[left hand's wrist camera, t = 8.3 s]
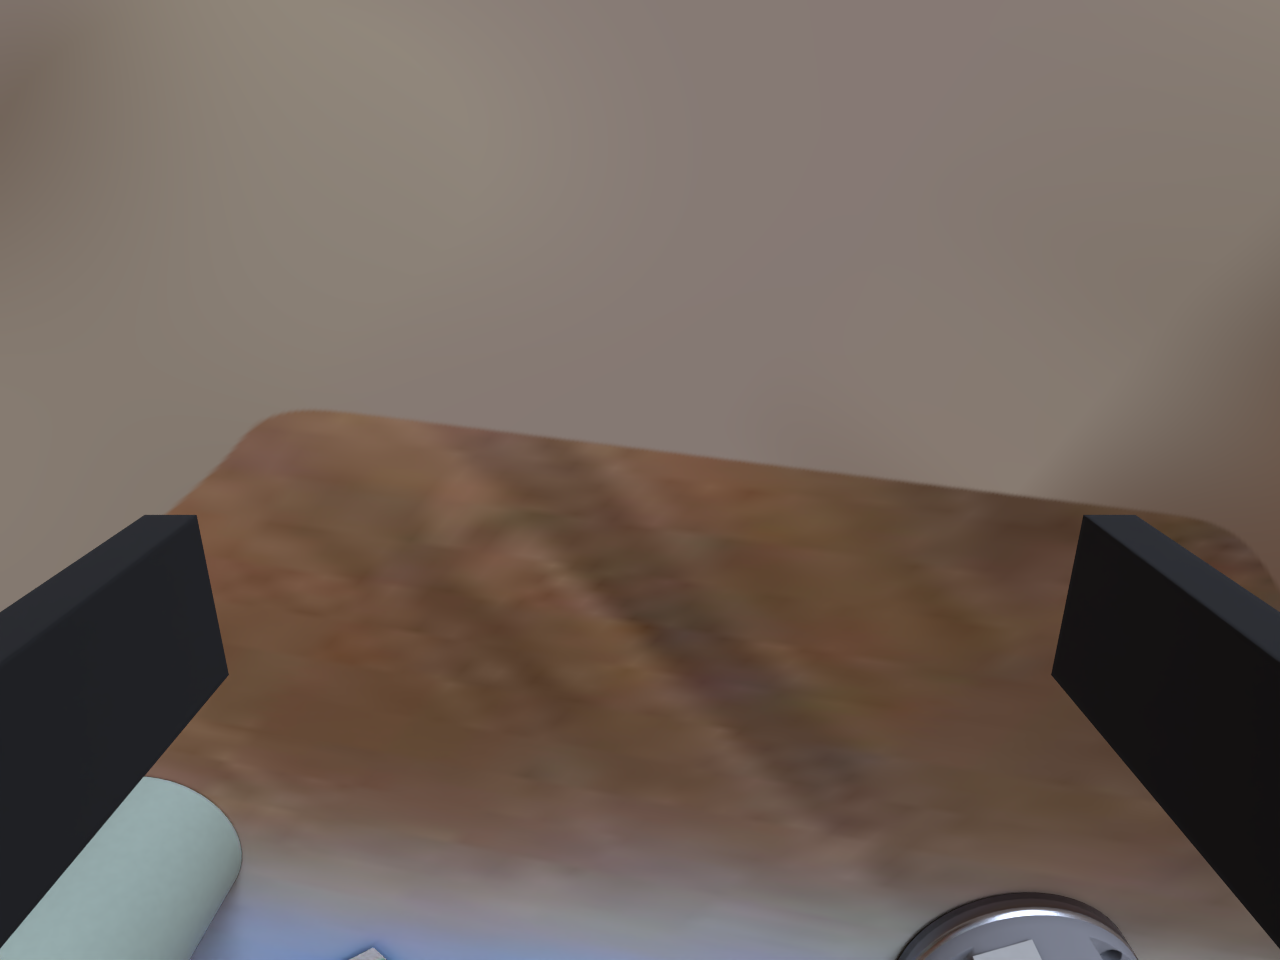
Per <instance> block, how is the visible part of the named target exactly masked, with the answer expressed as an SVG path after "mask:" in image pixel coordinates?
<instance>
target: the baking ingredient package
mask: <svg viewBox="0 0 1280 960" xmlns="http://www.w3.org/2000/svg"><path fill="white" fill-rule="evenodd" d="M349 960H386V959H385V958H384V957H383V956H382V955H381V954H380V953H379V952H378V951H377V950H376V949H374V948H371V949H369V950H367V951H365V952H363V953H361V954H359V955H357V956H355V957H353V958H351V959H349Z"/></svg>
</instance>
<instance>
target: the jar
mask: <svg viewBox="0 0 1280 960" xmlns="http://www.w3.org/2000/svg"><path fill="white" fill-rule="evenodd" d="M241 861H242V851H241V845H240V841H239V838H238V835H237V833H236V831H235V829H234V827H233V825H232V824H231V822H230V821H229V819H228V818H227V817H226V816H225V815H224V813H223V812H222V811H221V810H220V809H219V808H218V807H217V806H216V805H214V804H213V803H212V802H211V801H209V800H208V799H207V798H205V797H204V796H202V795H201V794H199V793H197V792H196V791H194V790H192V789H190V788H187V787H185V786H183V785H180V784H178V783H175V782H172V781H168V780H164V779H159V778H152V777H143V778H142V779H141V781H140V782H139V783H138V784H137V785H136V787H135V788H134V789H133V790H132V791H131V793H130V794H129V795H128V796H127V797H126V799H125V800H124V801H123V802H122V803H121V805H120V806H119V807H118V808H117V809H116V811H115V812H114V813H113V814H112V815H111V817H110V818H109V819H108V820H107V821H106V823H105V824H104V825H103V826H102V827H101V829H100V830H99V831H98V832H97V833H96V835H95V836H94V837H93V838H92V839H91V841H90V842H89V843H88V844H87V845H86V847H85V848H84V849H83V850H82V851H81V853H80V854H79V855H78V856H77V857H76V858H75V860H74V861H73V862H72V863H71V864H70V866H69V867H68V868H67V869H66V870H65V872H64V873H63V874H62V875H61V876H60V878H59V879H58V880H57V881H56V882H55V884H54V885H53V886H52V887H51V888H50V890H49V891H48V892H47V893H46V894H45V896H44V897H43V898H42V899H41V900H40V902H39V903H38V904H37V905H36V906H35V908H34V909H33V910H32V911H31V912H30V914H29V915H28V916H27V917H26V918H25V920H24V921H23V922H22V923H21V924H20V926H19V927H18V928H17V929H16V930H15V932H14V933H13V934H12V935H11V936H10V938H9V939H8V940H7V941H6V942H5V944H4V945H3V946H2V947H1V948H0V960H190V958H191V956H192V955H193V953H194V951H195V950H196V948H197V946H198V944H199V943H200V941H201V939H202V937H203V936H204V934H205V932H206V930H207V929H208V927H209V925H210V923H211V922H212V920H213V918H214V916H215V915H216V913H217V911H218V909H219V908H220V906H221V904H222V902H223V901H224V899H225V897H226V896H227V894H228V892H229V890H230V889H231V887H232V885H233V883H234V882H235V880H236V878H237V876H238V873H239V871H240V867H241Z"/></svg>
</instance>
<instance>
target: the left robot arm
mask: <svg viewBox="0 0 1280 960" xmlns="http://www.w3.org/2000/svg"><path fill="white" fill-rule="evenodd" d="M228 675H229V674H228V669H227V664H226V659H225V654H224V649H223V644H222V639H221V634H220V629H219V624H218V619H217V614H216V610H215V605H214V600H213V595H212V590H211V585H210V580H209V575H208V570H207V565H206V560H205V555H204V550H203V545H202V540H201V535H200V530H199V525H198V520H197V515H144V516H143V517H141V518H140V519H138V520H137V521H135V522H134V523H132V524H131V525H129V526H128V527H126V528H125V529H123V530H122V531H120V532H119V533H117V534H116V535H114V536H113V537H111V538H110V539H108V540H107V541H106V542H104V543H102V544H101V545H99V546H98V547H97V548H95V549H94V550H92V551H91V552H89V553H88V554H86V555H85V556H83V557H82V558H80V559H79V560H77V561H76V562H74V563H73V564H71V565H70V566H68V567H67V568H65V569H64V570H62V571H61V572H59V573H58V574H56V575H55V576H53V577H52V578H50V579H49V580H47V581H46V582H45V583H43V584H42V585H40V586H39V587H37V588H36V589H34V590H33V591H31V592H30V593H28V594H27V595H25V596H24V597H22V598H21V599H19V600H18V601H16V602H15V603H13V604H12V605H10V606H9V607H7V608H6V609H4V610H3V611H1V612H0V948H1V947H2V946H3V945H4V944H5V942H6V941H7V940H8V939H9V938H10V936H11V935H12V934H13V933H14V932H15V930H16V929H17V928H18V927H19V926H20V924H21V923H22V922H23V921H24V920H25V918H26V917H27V916H28V915H29V914H30V912H31V911H32V910H33V909H34V908H35V906H36V905H37V904H38V903H39V902H40V900H41V899H42V898H43V897H44V896H45V894H46V893H47V892H48V891H49V890H50V888H51V887H52V886H53V885H54V884H55V882H56V881H57V880H58V879H59V878H60V876H61V875H62V874H63V873H64V872H65V870H66V869H67V868H68V867H69V866H70V864H71V863H72V862H73V861H74V860H75V858H76V857H77V856H78V855H79V854H80V853H81V851H82V850H83V849H84V848H85V847H86V845H87V844H88V843H89V842H90V841H91V839H92V838H93V837H94V836H95V835H96V833H97V832H98V831H99V830H100V829H101V827H102V826H103V825H104V824H105V823H106V821H107V820H108V819H109V818H110V817H111V815H112V814H113V813H114V812H115V811H116V809H117V808H118V807H119V806H120V805H121V803H122V802H123V801H124V800H125V799H126V797H127V796H128V795H129V794H130V793H131V791H132V790H133V789H134V788H135V787H136V785H137V784H138V783H139V782H140V781H141V779H142V778H143V777H144V776H145V775H146V773H147V772H148V771H149V770H150V769H151V767H152V766H153V765H154V764H155V763H156V761H157V760H158V759H159V758H160V757H161V755H162V754H163V753H164V752H165V751H166V749H167V748H168V747H169V746H170V745H171V743H172V742H173V741H174V740H175V739H176V737H177V736H178V735H179V734H180V733H181V731H182V730H183V729H184V728H185V727H186V725H187V724H188V723H189V722H190V721H191V719H192V718H193V717H194V716H195V715H196V713H197V712H198V711H199V710H200V709H201V707H202V706H203V705H204V704H205V703H206V701H207V700H208V699H209V698H210V697H211V695H212V694H213V693H214V692H215V691H216V689H217V688H218V687H219V686H220V685H221V683H222V682H223V681H224V680H225V679H226V677H227V676H228ZM1051 675H1052V676H1053V677H1054V679H1055V680H1056V681H1057V682H1058V683H1059V685H1060V686H1061V687H1062V688H1063V689H1064V691H1065V692H1066V693H1067V694H1068V695H1069V697H1070V698H1071V699H1072V700H1073V701H1074V703H1075V704H1076V705H1077V706H1078V707H1079V709H1080V710H1081V711H1082V712H1083V713H1084V715H1085V716H1086V717H1087V718H1088V719H1089V721H1090V722H1091V723H1092V724H1093V725H1094V727H1095V728H1096V729H1097V730H1098V731H1099V733H1100V734H1101V735H1102V736H1103V737H1104V739H1105V740H1106V741H1107V742H1108V743H1109V745H1110V746H1111V747H1112V748H1113V749H1114V751H1115V752H1116V753H1117V754H1118V755H1119V757H1120V758H1121V759H1122V760H1123V761H1124V763H1125V764H1126V765H1127V766H1128V767H1129V769H1130V770H1131V771H1132V772H1133V773H1134V775H1135V776H1136V777H1137V778H1138V779H1139V781H1140V782H1141V783H1142V784H1143V785H1144V787H1145V788H1146V789H1147V790H1148V791H1149V793H1150V794H1151V795H1152V796H1153V797H1154V799H1155V800H1156V801H1157V802H1158V803H1159V805H1160V806H1161V807H1162V808H1163V809H1164V811H1165V812H1166V813H1167V814H1168V815H1169V817H1170V818H1171V819H1172V820H1173V821H1174V823H1175V824H1176V825H1177V826H1178V827H1179V829H1180V830H1181V831H1182V832H1183V833H1184V835H1185V836H1186V837H1187V838H1188V839H1189V841H1190V842H1191V843H1192V844H1193V845H1194V847H1195V848H1196V849H1197V850H1198V851H1199V853H1200V854H1201V855H1202V856H1203V857H1204V859H1205V860H1206V861H1207V862H1208V863H1209V864H1210V866H1211V867H1212V868H1213V869H1214V870H1215V872H1216V873H1217V874H1218V875H1219V876H1220V878H1221V879H1222V880H1223V881H1224V882H1225V884H1226V885H1227V886H1228V887H1229V888H1230V890H1231V891H1232V892H1233V893H1234V894H1235V896H1236V897H1237V898H1238V899H1239V900H1240V902H1241V903H1242V904H1243V905H1244V906H1245V908H1246V909H1247V910H1248V911H1249V912H1250V914H1251V915H1252V916H1253V917H1254V918H1255V920H1256V921H1257V922H1258V923H1259V924H1260V926H1261V927H1262V928H1263V929H1264V930H1265V932H1266V933H1267V934H1268V935H1269V936H1270V938H1271V939H1272V940H1273V941H1274V942H1275V944H1276V945H1277V946H1278V947H1279V948H1280V612H1279V611H1277V610H1276V609H1274V608H1273V607H1271V606H1270V605H1268V604H1267V603H1265V602H1264V601H1262V600H1261V599H1259V598H1258V597H1256V596H1255V595H1253V594H1252V593H1250V592H1249V591H1247V590H1246V589H1244V588H1243V587H1241V586H1240V585H1238V584H1237V583H1235V582H1234V581H1233V580H1231V579H1230V578H1228V577H1227V576H1225V575H1224V574H1222V573H1221V572H1219V571H1218V570H1216V569H1215V568H1213V567H1212V566H1210V565H1209V564H1207V563H1206V562H1204V561H1203V560H1201V559H1200V558H1198V557H1197V556H1195V555H1194V554H1192V553H1191V552H1189V551H1188V550H1186V549H1185V548H1184V547H1182V546H1181V545H1179V544H1178V543H1176V542H1175V541H1173V540H1172V539H1170V538H1169V537H1167V536H1166V535H1164V534H1163V533H1161V532H1160V531H1158V530H1157V529H1155V528H1154V527H1152V526H1151V525H1149V524H1148V523H1146V522H1145V521H1143V520H1142V519H1140V518H1139V517H1137V516H1136V515H1083V520H1082V525H1081V530H1080V535H1079V540H1078V545H1077V550H1076V555H1075V560H1074V565H1073V570H1072V575H1071V580H1070V585H1069V590H1068V595H1067V600H1066V605H1065V610H1064V614H1063V619H1062V624H1061V629H1060V634H1059V639H1058V644H1057V649H1056V654H1055V659H1054V664H1053V669H1052V674H1051ZM899 960H1138V958H1137V957H1136V955H1135V953H1134V952H1133V950H1132V949H1131V947H1130V946H1129V944H1128V942H1127V941H1126V939H1125V938H1124V936H1123V935H1122V933H1121V931H1120V930H1119V929H1118V928H1117V926H1116V925H1115V924H1114V923H1113V922H1112V921H1111V920H1110V919H1109V918H1108V917H1106V916H1105V915H1104V914H1102V913H1101V912H1100V911H1098V910H1096V909H1095V908H1093V907H1091V906H1089V905H1087V904H1085V903H1083V902H1080V901H1077V900H1074V899H1071V898H1067V897H1064V896H1059V895H1053V894H1045V893H1012V894H1005V895H999V896H994V897H989V898H985V899H982V900H978V901H975V902H972V903H969V904H967V905H964V906H962V907H960V908H957V909H955V910H953V911H951V912H949V913H947V914H945V915H944V916H942V917H940V918H939V919H937V920H936V921H934V922H933V923H931V924H930V925H929V926H927V927H926V928H925V929H924V930H923V931H921V932H920V933H919V934H918V935H917V936H916V937H915V938H914V939H913V940H912V941H911V943H910V944H909V945H908V946H907V947H906V949H905V950H904V951H903V953H902V955H901V956H900V958H899Z"/></svg>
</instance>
